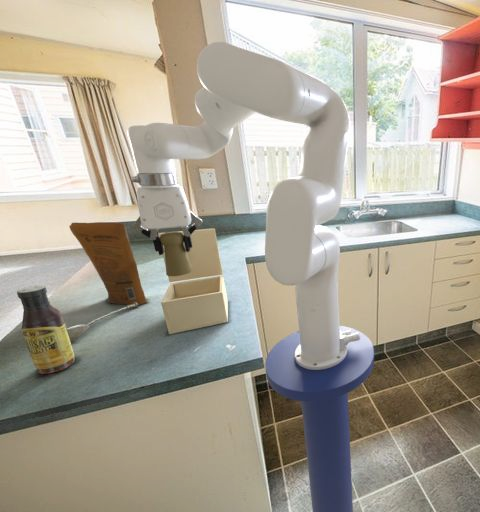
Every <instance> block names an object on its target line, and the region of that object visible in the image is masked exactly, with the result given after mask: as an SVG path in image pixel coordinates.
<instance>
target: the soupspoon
mask: <svg viewBox="0 0 480 512" xmlns="http://www.w3.org/2000/svg"><path fill="white" fill-rule="evenodd" d="M138 307H139V305H138V304H137V303H136V302H134V303H133V304H132V305H125V307H124V306H123V307H122V308H119V309H117V310H114V311H112V312H110V313H108V314H104V315H102V316H100V317H98V318H96V319H94V320H92V321H90V322H88V323H86V324H77V325H74V326H70V327H68V328H67V327H66V330H67V333H68V336H69V339H70V342H71V343H72V342H74V341H75V340H76V339H78V338H79V337H80V336H81V335H83V334H84V333H85V332H86V331H87V330H88V329H89V328H90V326H92V325H93V324H95V323H97V322H98V321H100V320H103V319H105V318H107V317H109V316H111V315H113V314H116V313H118V312H120V311H124V310H127V309H131V308H138Z"/></svg>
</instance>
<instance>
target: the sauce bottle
mask: <svg viewBox="0 0 480 512" xmlns="http://www.w3.org/2000/svg"><path fill="white" fill-rule="evenodd" d="M47 293H48V290H47V287H46V286H45V285H40V284H39V285H31V286H26V287H21V288H20V289H18V290H17V291H16V294H17V297H18V298H19V300H20V301H21V305H22V309H23V313H22V315H23V316H22V323H21V333H22V335H23V338H24V340H25V343H26V347H27V350H28V352H29V355H30V358H31V360H32V362H33V365H34V368H35V369H36V371H37V373H39V374H41V375H49V374H54V373H58V372H61V371H63V370H65V369H67V368H68V367H70V366H71V365H72V364H74V362H75V360H76V359H75V352H74V349H73V346H72V342H70V339H69V336H68V333H67V330H66V329H67V327H66V323H65V321H64V320H63V316H62V313H61V311H60V310H58V309H57V308H55V307H53V306H52V305H51V302H50V301H49V298H48V295H47Z"/></svg>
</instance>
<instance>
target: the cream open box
mask: <svg viewBox="0 0 480 512" xmlns="http://www.w3.org/2000/svg"><path fill="white" fill-rule="evenodd" d="M160 304H161V309H162V313H163V316H164V320H165V323H166V328H167V332H168V335H174V334H179V333H181V332H185V331H186V332H187V331H191V330H192V331H193V330H197V329H202V328H207V327H211V326H215V325H220V324H226V323H228V322H229V302H228V296H227V289H226V284H225V278H224V275H216V276H209V277H202V278H196V279H189V280H182V281H175V282H169V285H168V287H167V288H166V290H165V293H164V296H163V297H162V299H161V301H160Z"/></svg>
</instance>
